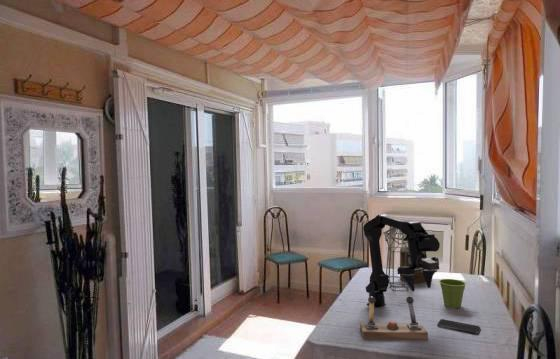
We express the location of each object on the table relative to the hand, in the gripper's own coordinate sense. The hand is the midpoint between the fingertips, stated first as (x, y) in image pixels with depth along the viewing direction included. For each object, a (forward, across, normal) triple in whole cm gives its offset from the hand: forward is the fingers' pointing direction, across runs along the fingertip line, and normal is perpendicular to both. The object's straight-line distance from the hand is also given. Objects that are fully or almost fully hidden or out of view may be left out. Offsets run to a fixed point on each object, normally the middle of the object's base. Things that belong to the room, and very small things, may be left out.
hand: (421, 289), depth 155 cm
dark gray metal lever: (+10, -24, +5) cm, 27 cm away
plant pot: (+13, +30, +11) cm, 34 cm away
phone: (+16, +10, -7) cm, 21 cm away
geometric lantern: (+8, +28, +42) cm, 51 cm away
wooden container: (+6, +48, +51) cm, 71 cm away
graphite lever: (+11, -10, -4) cm, 15 cm away
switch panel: (+14, -17, +1) cm, 22 cm away
